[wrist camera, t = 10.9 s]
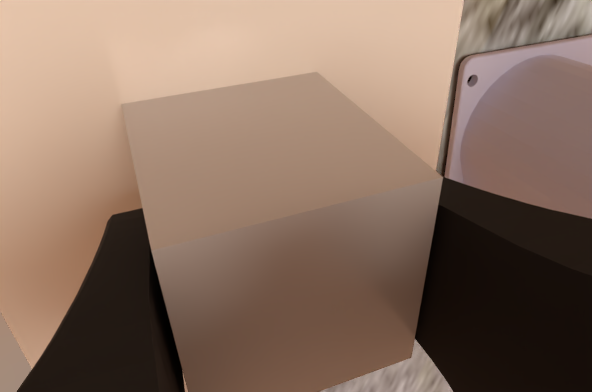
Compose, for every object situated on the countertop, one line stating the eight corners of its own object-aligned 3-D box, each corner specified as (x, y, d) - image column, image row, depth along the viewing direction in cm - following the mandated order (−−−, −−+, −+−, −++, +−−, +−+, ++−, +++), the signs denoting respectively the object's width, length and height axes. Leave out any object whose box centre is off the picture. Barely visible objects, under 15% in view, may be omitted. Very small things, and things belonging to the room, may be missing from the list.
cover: (401, 261, 16) (517, 400, 12) (49, 367, 13) (38, 606, 9) (453, -134, 10) (737, -136, 6) (-196, -109, 7) (-634, -72, 3)
